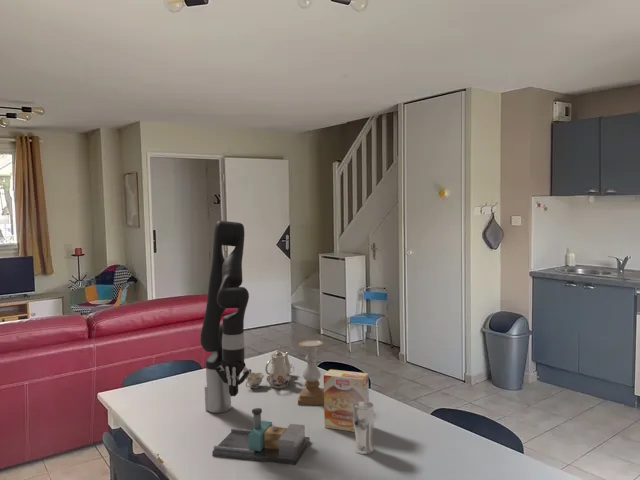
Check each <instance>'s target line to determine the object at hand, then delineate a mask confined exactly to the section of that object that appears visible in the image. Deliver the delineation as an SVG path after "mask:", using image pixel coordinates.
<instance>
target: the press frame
mask: <svg viewBox="0 0 640 480" xmlns="http://www.w3.org/2000/svg"><path fill="white" fill-rule="evenodd" d="M286 428H287V429H286V430H285V432H284V433H283V434H282V436H281V437H280V438H279V449H270V448H265V446H264V448H263V449H262V450H261V451H255V450H252V449H249V441H248V435H249V434H250V433H251V431H252V430H253V429H242V428H232V427H231V428H230V433H229V434H227V435H226V436H225V438H223V440H222V441H221V442H220V443H218V445H214V446H213V450H212V451H211V452H212V456H213V457H222V458H229V459H231V458H232V459H239V460H248V461H257V462H268V463H276V464H285V465H292V466H293V465H294V466H296V465H297V463H298V462H299V459H300V458H301V457H302V455H303V453H304V451H305V450H306V448H307V446H308V445H309V443H310V441H311V440H310V437H309V436H306V429H305V424H298V423H297V424H296V423H290V424H289V425H288V426H287V427H286Z"/></svg>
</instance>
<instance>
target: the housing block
mask: <svg viewBox="0 0 640 480" xmlns="http://www.w3.org/2000/svg"><path fill="white" fill-rule="evenodd" d="M287 428H288V427H278V426H272V427H269V428H268V429H267V430H266V431H265V433H264V443H265V448H270V449H279V438H280V437H281V436H282V434H283V433H284V432H285V430H286V429H287Z"/></svg>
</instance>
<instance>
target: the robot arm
mask: <svg viewBox="0 0 640 480" xmlns="http://www.w3.org/2000/svg"><path fill="white" fill-rule="evenodd" d="M244 245H245V227H244V224H243V223H241V222H238V221H237V222H236V221H229V220H228V221H227V220H218V221H216V223H215V226H214V232H213V245H212V246H213V247H212V260H211V261H212V262H211V268H210V269H211V270H210V275H209V281H208V282H209V283H208V290H207V301H206V308H205V313H204V319H203V323H202V327H201V332H200V344H201V347H202V349H203V350H204V351H205V352H207V353H211V354H210V355H209V356H208V357H207V358H206V360H205V376H206V385H205V386H204V401H205V402H204V404H205V407H204V409H205V411H207V412H210V413H211V414H221V413H225V412H228V411H230V410H231V409H232V397H236V396H237V395H238V394H239V386H241V384H242V383H244V382H245V381H246V378H247V377H248V375H249V374H250V373H252V369H250V368H249V369H248V367H247V366H246V363H245V335H244V334H245V333H244V331H245V330H244V325H245V323H244V322H245V321H244V320H245V314H246V310H247V307H248V303H249V298H250V294H249V291H248V289H247V288H246V287H243V286H242V284H243V257H244ZM223 246H227V247H234V249H233V250H232V251H231V253H229V255H228V256H227V257H226V258H225V257H224V253H223V250H222V249H223ZM226 309H237V310H236V311H235V312H234V313H230V314H226V315H224V313H225V311H226ZM222 316H223V318H222ZM221 319H222V320H221ZM221 321H222V324H221ZM241 374H242V376H241Z"/></svg>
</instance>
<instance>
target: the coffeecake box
mask: <svg viewBox="0 0 640 480" xmlns="http://www.w3.org/2000/svg"><path fill="white" fill-rule="evenodd" d="M369 377H370V375H369V373H368V372H367V373H366V372H360V371H359V372H357V371H348V370H339V369H331V368H330V369H328V371H327V372H325V373H324V374H323V388H324V405H323V407H324V408H323V409H324V412H323V413H324V415H323V416H324V419H323V420H324V428H326V429H333V430H338V431H339V430H340V431H347V432H353V433H355V430H354V425H353V404H354V403H355V402H359V401H367V402H370V393H369V392H370V391H369V389H370V386H369V384H370V383H369Z"/></svg>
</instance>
